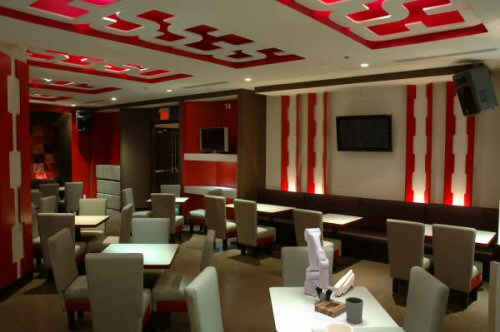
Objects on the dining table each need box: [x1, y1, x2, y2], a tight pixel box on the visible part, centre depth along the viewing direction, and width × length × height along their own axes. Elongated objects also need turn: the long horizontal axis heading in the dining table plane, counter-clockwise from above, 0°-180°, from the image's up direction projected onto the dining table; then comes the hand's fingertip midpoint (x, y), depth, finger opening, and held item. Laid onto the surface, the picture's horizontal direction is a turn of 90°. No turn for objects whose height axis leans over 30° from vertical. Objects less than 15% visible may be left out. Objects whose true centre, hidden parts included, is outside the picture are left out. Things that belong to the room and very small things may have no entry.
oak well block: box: [314, 298, 346, 318], centre depth 251 cm, size 14×16×3 cm
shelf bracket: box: [333, 269, 356, 297], centre depth 282 cm, size 6×25×13 cm, turn 143°
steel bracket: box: [314, 291, 327, 306], centre depth 260 cm, size 4×8×6 cm, turn 134°
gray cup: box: [344, 296, 364, 325], centre depth 237 cm, size 10×10×12 cm
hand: (324, 300), depth 261 cm, fingers open, 5 cm apart
